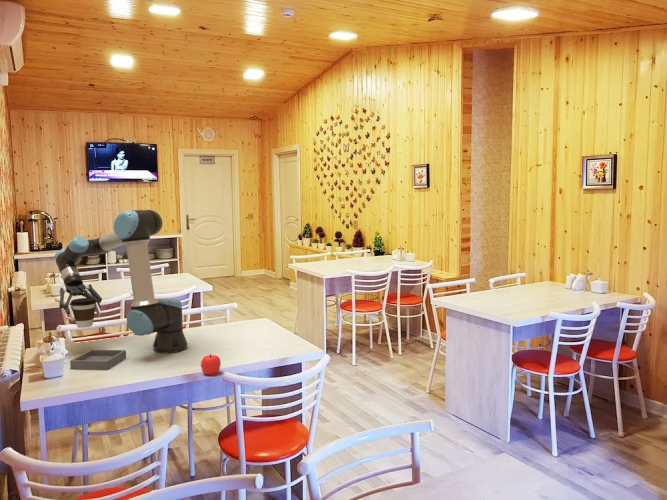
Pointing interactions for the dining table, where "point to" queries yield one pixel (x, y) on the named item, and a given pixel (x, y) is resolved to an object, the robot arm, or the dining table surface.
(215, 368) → the apple
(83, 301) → the coffee cup
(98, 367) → the holder tray
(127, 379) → the dining table surface
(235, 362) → the dining table surface
